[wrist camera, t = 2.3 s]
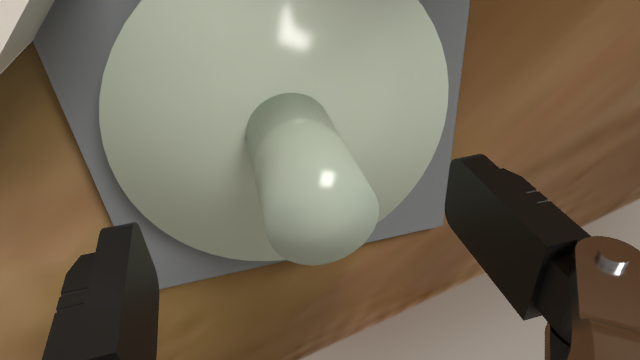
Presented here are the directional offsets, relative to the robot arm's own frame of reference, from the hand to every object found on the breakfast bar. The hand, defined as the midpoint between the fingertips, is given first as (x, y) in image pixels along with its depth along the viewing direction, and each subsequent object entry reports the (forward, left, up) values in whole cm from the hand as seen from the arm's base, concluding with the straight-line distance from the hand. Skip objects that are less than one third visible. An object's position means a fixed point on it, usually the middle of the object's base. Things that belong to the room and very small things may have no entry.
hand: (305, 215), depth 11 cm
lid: (0, 0, -6) cm, 6 cm away
